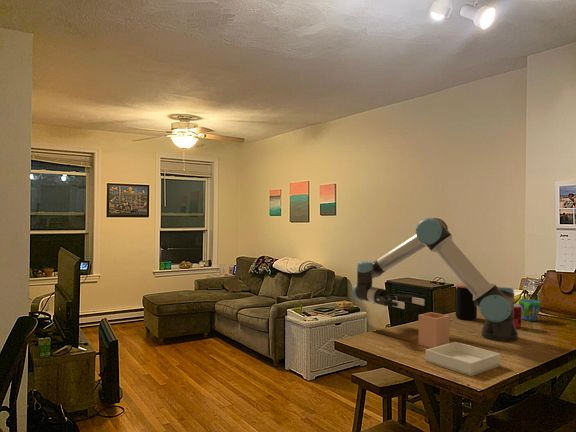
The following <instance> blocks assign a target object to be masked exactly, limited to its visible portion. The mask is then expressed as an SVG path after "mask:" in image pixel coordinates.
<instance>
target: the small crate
mask: <svg viewBox="0 0 576 432" xmlns="http://www.w3.org/2000/svg"><path fill="white" fill-rule="evenodd" d="M417 329H418V338H417V340H418V341H417V342H418V343H417V344H418V346H420V345H421V346H420V347H423V346H424V348H427V349H430V348H434V347H438V346H441V345H445V344H449V343H450V315H446V314H441V313H437V312H432V311H431V312H425V313H422V314H418V328H417Z"/></svg>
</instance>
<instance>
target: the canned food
mask: <svg viewBox="0 0 576 432" xmlns="http://www.w3.org/2000/svg"><path fill="white" fill-rule="evenodd" d="M514 324H515V327H516V330H517V329H521V328H522V317H521V305H519V303H518V304H516V303H514Z"/></svg>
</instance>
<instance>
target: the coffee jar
mask: <svg viewBox="0 0 576 432" xmlns="http://www.w3.org/2000/svg"><path fill="white" fill-rule="evenodd" d="M455 287H456V288H455V317H456V318H457V319H458V320H461V321H476V319H477V318H478V317H477V316H478V312H477V311H478V309H477V308H478V306H477V305H476V303H475V302H474V301H473V294H472V293H471V292H470V291H469V290H468V288H467V287H466V286H465V285H464V284H463V283H456V284H455Z"/></svg>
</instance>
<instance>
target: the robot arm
mask: <svg viewBox="0 0 576 432" xmlns="http://www.w3.org/2000/svg"><path fill="white" fill-rule="evenodd" d="M425 247H427V248H428V249H429V250H430V251H431V252H432V253H437V255H438V256H439V257H440V258H441V259H442V260H443V262H445V264H446V265H447V266H448V267H449V268H450V269H451V271H452V272H453V273H454V274H455V275H456V277H457V278H458V279H459V280H460V281H461V284H464V285H465V286H466V287H467V288H468V290H469V291H470V292H471V293H472V294H473V301H474V302H475V303H476V305H477V308H479V311H480V314H481V316H482V317H483V318H484V319H485V320H484V322H483V325H482V328H481V336H482V337H483V338H484V339H488V340H492V341H497V342H515V341H518V340H519V333H518V330H517V329H516V327H515V324H514V304H515V290H514V289H513V288H512V287H504V286H497V285H496V284H495V283H490V282H489V281H488V279H486V278H485V276H484V275H483V274H482V273H481V272H480V271H479V270H478V268H477V267H476V266H475V265H474V264H473V262H471V260H470V259H469V258H468V257H467V256H466V255H465V254H464V253H463V251H462V250H461V249H460V248H459V247H458V246H457V244H455V242H454V241H453V234H452V233H450V231H449V228H448V225H447V223H446V221H445V220H443V219H442V218H438V217H427V218H424V219H422V220H420V221H419V222H418V224H417V225H416V227H415V234H414V235H412V236H411V237H409V238H408V239H407V240H405V241H403V242H402V243H400V244H399V245H397V246H396V247H394V248H393V249H391V250H390V251H388V252H386V253H385V254H383V255H382V256H380V257H379V258H378V259H376V260H374V261H373V262H372V261H369V260H368V261H367V260H363V261H358V262H357V268H356V269H357V271H356V273H357V276H356V284H355V285H353V288H352V290H351V291H352V292H351V293H352V297H354V298H355V299H357V300H360V301H364V302H369V303H372V304H373V305H376V304H377V305H381V306H384V307H388V308H389V309H390V308H392V307H393V308H398V309H401V310H405V306H406V304H405V303H412V304H416V305H418V306H425V305H426V304H425V303H426V302H425V300H426V299H424V298H419V297H416V296H415V295H414V294H413V295H407V294H398V293H395V294H393V293H390V292H389V290H387V289H384V288H379V287H376V286H375V287H374V286H373V279H375V278H379V277H380V276H382V275H383V274H384V273H386V272H387V271H388V270H391V269H392V268H394V267H395V266H397V265H398V264H399V263H402V262H403V261H405V260H407V259H408V258H409V257H411V256H412V255H415V254H416V253H418V252H419V251H421V250H422V249H424V248H425Z"/></svg>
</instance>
